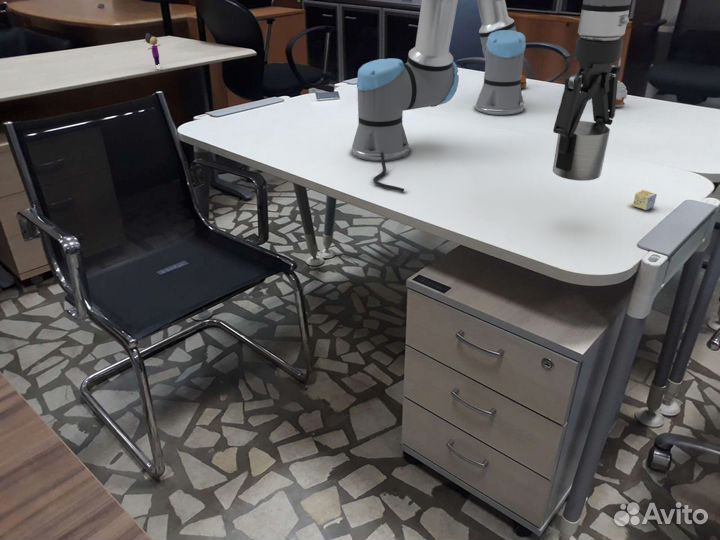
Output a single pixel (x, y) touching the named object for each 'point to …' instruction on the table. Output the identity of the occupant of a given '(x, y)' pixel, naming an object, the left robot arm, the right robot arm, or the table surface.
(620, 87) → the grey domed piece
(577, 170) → the can
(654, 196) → the alphabet block
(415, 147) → the table surface
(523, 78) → the burger
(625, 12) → the left robot arm
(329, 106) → the table surface
